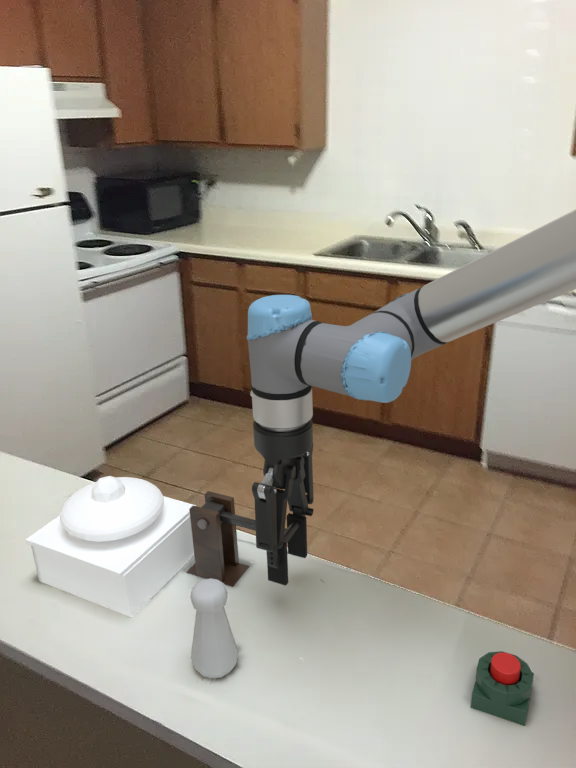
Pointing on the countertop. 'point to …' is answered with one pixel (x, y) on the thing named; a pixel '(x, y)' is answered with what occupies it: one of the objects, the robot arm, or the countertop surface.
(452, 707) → the countertop surface
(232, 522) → the lever
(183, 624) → the countertop surface
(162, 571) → the white lidded container
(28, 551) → the countertop surface
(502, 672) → the button
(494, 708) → the button box
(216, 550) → the bracket
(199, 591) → the salt shaker
